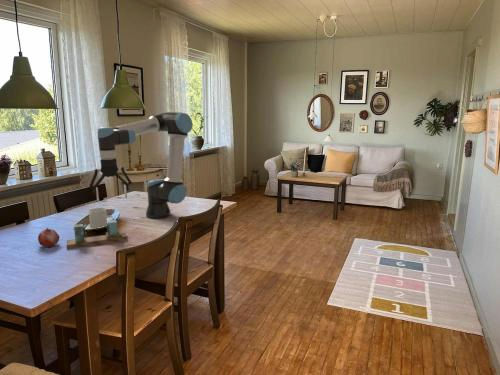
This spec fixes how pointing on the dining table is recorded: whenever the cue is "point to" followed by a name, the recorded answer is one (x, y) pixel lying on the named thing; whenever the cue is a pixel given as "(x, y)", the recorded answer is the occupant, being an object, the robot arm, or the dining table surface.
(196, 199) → the dining table surface
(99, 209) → the grey rounded block
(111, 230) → the teal rectangular block
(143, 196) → the dining table surface
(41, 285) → the dining table surface
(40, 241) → the fruit
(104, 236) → the rail
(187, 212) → the dining table surface
